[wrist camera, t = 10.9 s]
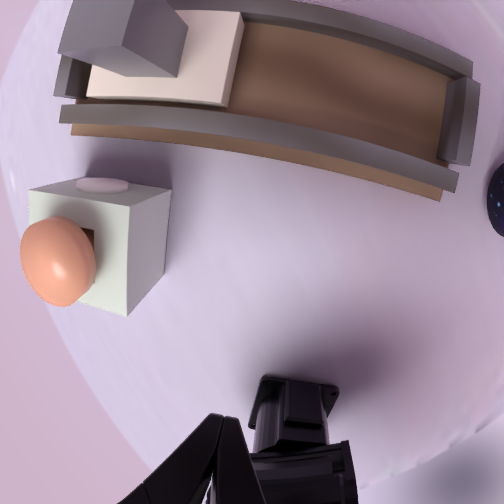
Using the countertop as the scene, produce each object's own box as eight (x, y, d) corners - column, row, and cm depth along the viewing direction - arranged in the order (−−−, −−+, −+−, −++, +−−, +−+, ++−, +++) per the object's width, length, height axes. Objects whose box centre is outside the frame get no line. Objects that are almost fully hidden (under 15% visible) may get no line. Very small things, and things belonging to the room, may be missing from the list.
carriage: (227, 108, 16) (183, 76, 8) (103, 99, 16) (12, 85, 9) (244, 25, 14) (217, -50, 7) (120, 25, 14) (44, -19, 7)
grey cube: (163, 274, 21) (126, 316, 16) (82, 254, 22) (33, 285, 16) (172, 183, 19) (130, 198, 14) (84, 171, 19) (28, 183, 14)
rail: (429, 197, 18) (459, 209, 14) (82, 135, 19) (47, 135, 15) (451, 60, 15) (481, 47, 11) (110, 8, 15) (82, -11, 12)
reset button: (125, 279, 18) (86, 316, 13) (69, 264, 18) (25, 293, 14) (129, 208, 16) (82, 229, 12) (69, 198, 17) (17, 215, 12)
